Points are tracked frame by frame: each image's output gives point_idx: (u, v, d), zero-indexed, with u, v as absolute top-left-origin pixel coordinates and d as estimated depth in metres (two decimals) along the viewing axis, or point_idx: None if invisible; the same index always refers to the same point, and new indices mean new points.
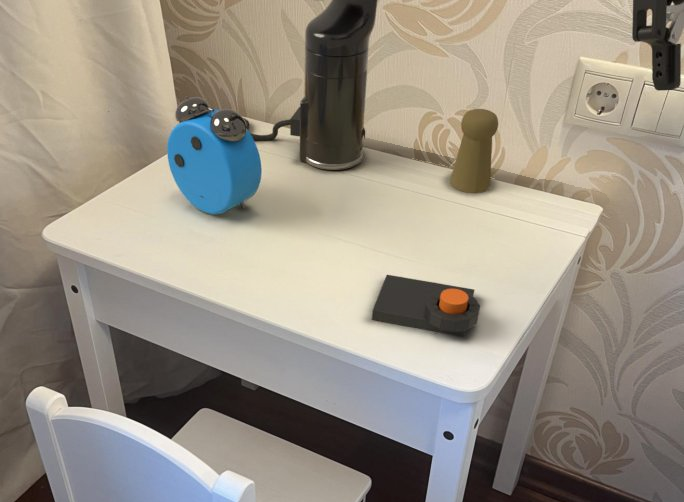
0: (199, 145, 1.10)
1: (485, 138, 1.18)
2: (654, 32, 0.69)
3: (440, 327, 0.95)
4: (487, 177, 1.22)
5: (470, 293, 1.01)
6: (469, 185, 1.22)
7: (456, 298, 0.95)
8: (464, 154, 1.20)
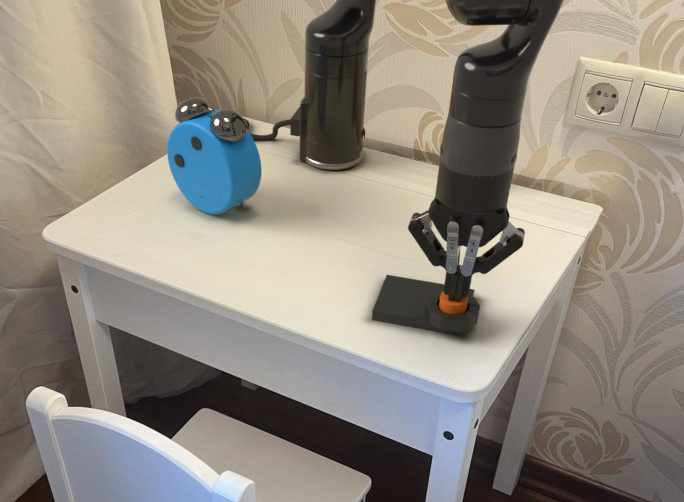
0: (199, 145, 1.10)
1: None
2: (431, 263, 0.92)
3: (440, 327, 0.95)
4: None
5: (470, 293, 1.01)
6: None
7: None
8: None
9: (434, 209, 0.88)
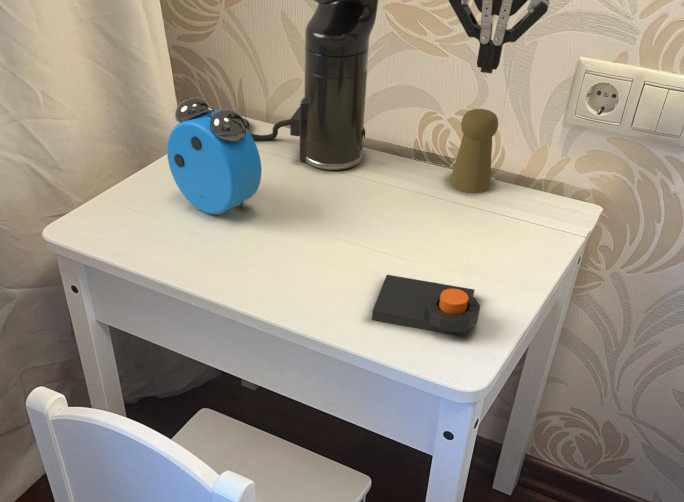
0: (199, 145, 1.10)
1: (485, 138, 1.18)
2: (467, 34, 1.07)
3: (440, 327, 0.95)
4: (487, 177, 1.22)
5: (470, 293, 1.01)
6: (469, 185, 1.22)
7: (456, 298, 0.95)
8: (464, 154, 1.20)
9: None
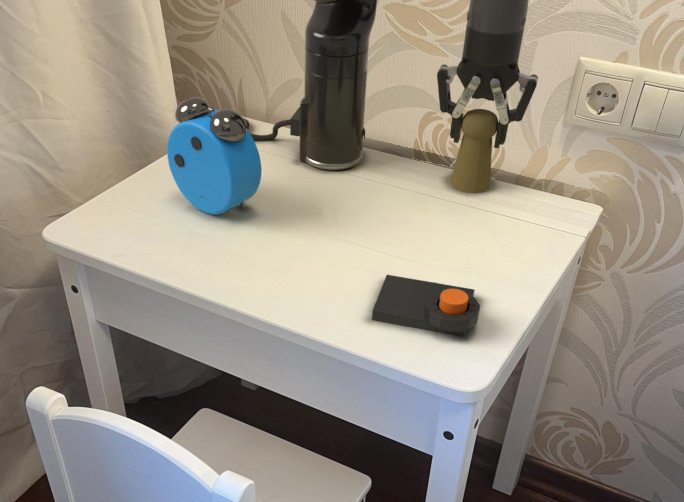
0: (199, 145, 1.10)
1: (485, 138, 1.18)
2: (440, 108, 1.18)
3: (440, 327, 0.95)
4: (487, 177, 1.22)
5: (470, 293, 1.01)
6: (469, 185, 1.22)
7: (456, 298, 0.95)
8: (464, 154, 1.20)
9: (463, 66, 1.13)
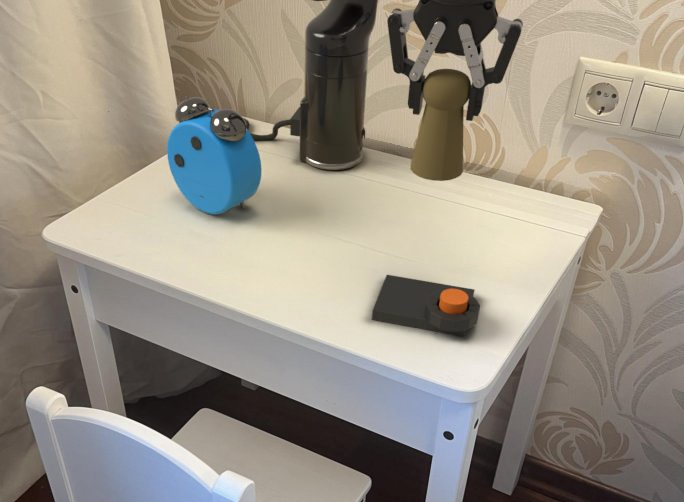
0: (199, 145, 1.10)
1: (454, 107, 0.88)
2: (393, 67, 0.88)
3: (440, 327, 0.95)
4: (458, 160, 0.93)
5: (470, 293, 1.01)
6: (434, 171, 0.92)
7: (456, 298, 0.95)
8: (427, 130, 0.91)
9: (422, 9, 0.84)
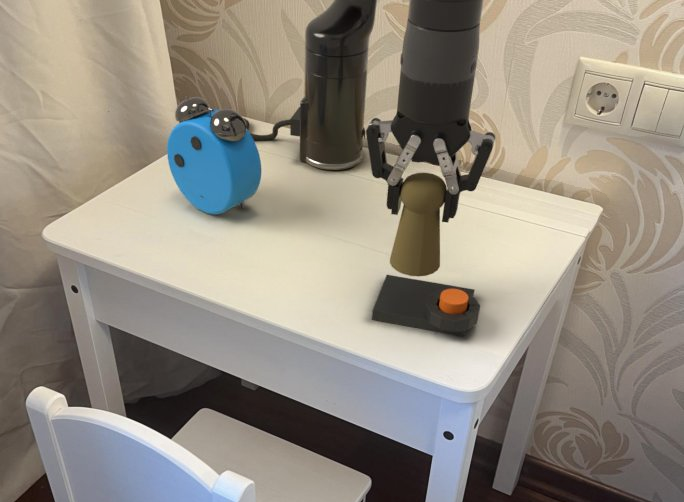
0: (199, 145, 1.10)
1: (430, 211, 0.92)
2: (372, 172, 0.92)
3: (440, 327, 0.95)
4: (435, 257, 0.96)
5: (470, 293, 1.01)
6: (412, 267, 0.96)
7: (456, 298, 0.95)
8: (405, 230, 0.94)
9: (399, 122, 0.87)
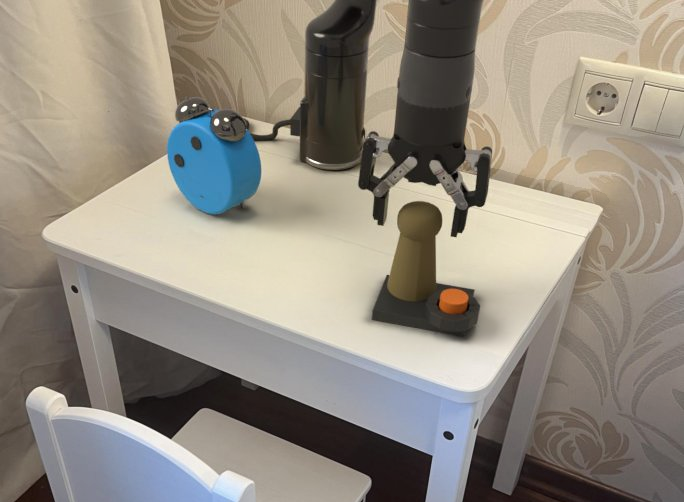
0: (199, 145, 1.10)
1: (426, 239, 0.94)
2: (358, 183, 0.93)
3: (440, 327, 0.95)
4: (431, 283, 0.99)
5: (470, 293, 1.01)
6: (408, 293, 0.99)
7: (456, 298, 0.95)
8: (401, 256, 0.97)
9: (397, 144, 0.89)
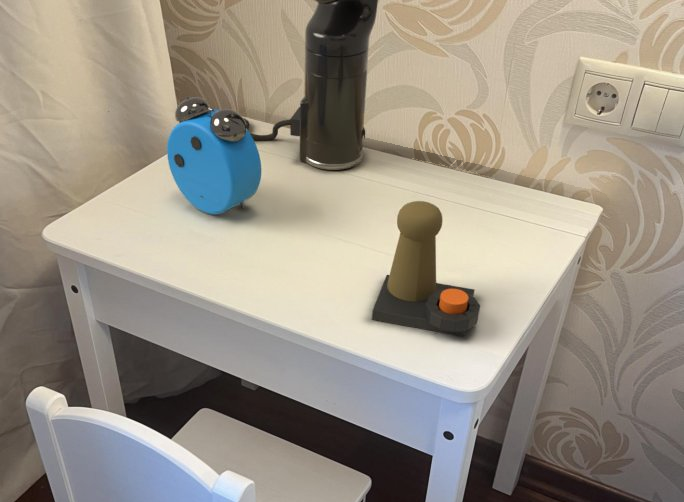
0: (199, 145, 1.10)
1: (426, 239, 0.94)
2: None
3: (440, 327, 0.95)
4: (431, 283, 0.99)
5: (470, 293, 1.01)
6: (408, 293, 0.99)
7: (456, 298, 0.95)
8: (401, 256, 0.97)
9: None
